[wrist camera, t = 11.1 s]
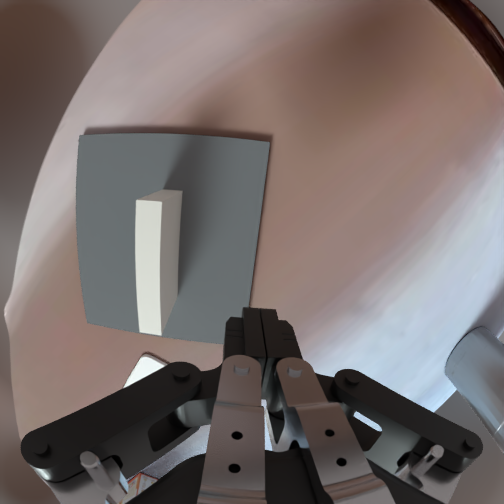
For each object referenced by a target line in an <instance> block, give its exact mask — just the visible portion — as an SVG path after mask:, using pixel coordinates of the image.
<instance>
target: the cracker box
mask: <svg viewBox="0 0 504 504" xmlns="http://www.w3.org/2000/svg"><path fill="white" fill-rule="evenodd" d="M157 480H159V479H156V478H153V477H150V476H148V475H145V474H143V473H139V474H138V475H136V476H135V477H134V478H133V479H131V480H130V481H129V482H128V493H127V495H126V496H125V498H123V499H122V500H121V501H120V502H119V503H118V504H125V503H126V502H128V501H129V500H131V499H132V498H134V497H135V496H137V495H138V494H140V493H141V492H142V491H144V490H145V489H147V488H148V487H149V486H151V485H152V484H153V483H155V482H156V481H157Z"/></svg>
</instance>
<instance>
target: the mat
mask: <svg viewBox="0 0 504 504" xmlns="http://www.w3.org/2000/svg"><path fill="white" fill-rule="evenodd" d="M269 146H270V142H264V141H256V140H247V139H238V138H228V137H217V136H204V135H188V134H163V133H117V134H92V135H80V136H79V146H78V159H77V177H76V228H77V246H78V259H79V270H80V279H81V287H82V294H83V301H84V307H85V313H86V319H87V323H90V324H94V325H99V326H104V327H109V328H114V329H119V330H124V331H130V332H135V333H141V332H140V331H139V320H138V307H137V290H136V264H135V220H136V200H137V199H140V198H142V197H144V196H147V195H150V194H152V193H155V192H157V191H160V190H162V189H165V190H178V191H183V192H182V205H181V220H180V237H179V260H178V297H177V299H176V301H175V304H174V306H173V309H172V311H171V313H170V316H169V318H168V321H167V323H166V326H165V328H164V331H163V333H162V336H160V335H154V334H147V333H141V334H147V335H153V336H160V337H167V338H174V339H181V340H189V341H197V342H206V343H216V344H224V336H225V325H226V322H227V320H228V319H229V318H230V317H241V315H242V308H243V307H249V299H250V292H251V284H252V277H253V269H254V262H255V254H256V246H257V239H258V231H259V224H260V216H261V208H262V201H263V193H264V185H265V177H266V170H267V162H268V154H269Z"/></svg>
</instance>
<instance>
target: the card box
mask: <svg viewBox="0 0 504 504" xmlns="http://www.w3.org/2000/svg"><path fill="white" fill-rule="evenodd" d="M182 192H183V191H178V190H165V189H162V190H160V191H157V192H155V193H152V194H150V195H147V196H144V197H142V198H140V199H137V200H136V220H135V264H136V290H137V307H138V320H139V331H140V332H141V333H147V334H154V335H160V336H162V333H163V331H164V328H165V326H166V323H167V321H168V318H169V316H170V313H171V311H172V309H173V306H174V304H175V301H176V299H177V297H178V260H179V237H180V220H181V205H182Z"/></svg>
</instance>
